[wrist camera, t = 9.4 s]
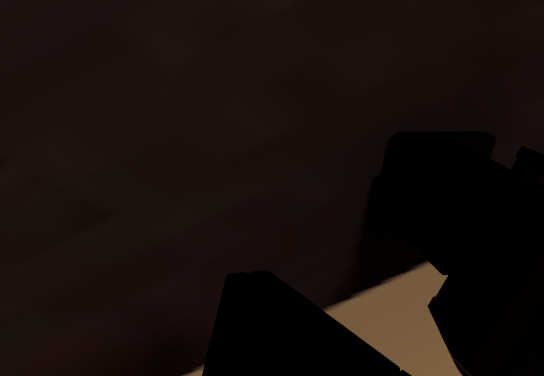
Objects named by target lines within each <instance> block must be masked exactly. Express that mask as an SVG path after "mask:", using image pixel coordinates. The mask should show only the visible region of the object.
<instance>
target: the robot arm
mask: <svg viewBox="0 0 544 376" xmlns="http://www.w3.org/2000/svg"><path fill="white" fill-rule="evenodd" d="M401 139H403V142H402V143H401V144H400V145H398V143H399V141H400V140H401ZM485 140H487V141H486V143H485V144H484V142H485ZM495 141H496V139H495V136H494V135H492V134H490V133H487V132H397V133H395V134H394V135H393V136H392V138H391V141H390V146H389V150H388V155H387V160H386V164H385V169H384V171H383V173H382V177H381V181H380V186H379V191H378V195H377V200H376V205H375V210H374V211H375V216H374V221H373V226H372V234H373V235H374V236H375V237H376V238H377V239H380V240H382V239H396V238H401V239H402V240H403V241H404V242H405V243H406V244H407V245H408V246H409V247H410V248H411V249H412V250H413V251H419V252H420V253H421V254H422V255H423V256H424V257H425V258H426V259H427V260H428V261H429V262H430V263H431V264H432V265H433V266H434V267H435V268H436V269H437V270H438V271H439V272H440V273H441V274H442V275H448V277H447V279H446V280H445V282H444V283H443V285H442V287H441V289H440V290H439V292H438V294H437V295H436V297H433V298H432V300H431V301H430V303H429V305H428V308H429V310H430V312H431V314H432V317H433V319H434V321H435V323H436V325H437V327H438V329H439V331H440V334H441V336H442V338H443V340H444V342H445V344H446V346H447V348H448V350H449V353H450V354H451V357H452V359H453V361H454V363H455V365H456V366H457V368H458V370H459V372H460V373H461V374H462V376H544V154H542V153H539V152H536V151H534V150H531V149H528V148H526V147H523V146H522V147H521V148H520V150H519V152H518V153H517V155H516V158H517V160H516V162H515V163H514V165H513V167H512V168H511V170H510V169H508V168H506V167H505V166H503V165H501V164H499V163H497V162H495V161H493V160H491V159H490V157H491V154H492V151H493V148H494V145H495ZM381 229H383V230H382V231H381V232H379V231H380V230H381ZM202 376H411V375H410V374H408V373H407V372H406V371H404V370H401V371H400V368H399V366H397V365H396V364H395V363H393V362H392V361H390V360H389V359H388V358H386V357H385V356H384V355H382V354H381V353H380V352H378V351H377V350H376V349H374V348H373V347H371V346H370V345H369V344H367V343H366V342H365V341H363V340H362V339H361V338H359V337H358V336H357V335H355V334H354V333H352V332H351V331H350V330H348V329H347V328H346V327H344V326H343V325H342V324H340V323H339V322H337V321H336V320H335V319H334V318H332V317H331V316H329V315H328V314H327V313H326V312H324V311H323V310H321V309H320V308H319V307H317V306H316V305H315V304H313V303H312V302H311V301H309V300H308V299H307V298H305V297H304V296H303V295H301V294H300V293H298V292H297V291H296V290H294V289H293V288H292V287H290V286H289V285H288V284H286V283H285V282H284V281H282V280H281V279H280V278H278V277H277V276H275V275H274V274H273V273H271V272H270V271H267V270H265V271H254V272H250V273H249V274H247V273H245V272H243V273H231V274H228V275H227V276H226V279H225V284H224V288H223V292H222V296H221V300H220V304H219V308H218V312H217V316H216V320H215V324H214V329H213V333H212V337H211V341H210V345H209V349H208V353H207V357H206V361H205V365H204V370H203V374H202Z"/></svg>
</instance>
